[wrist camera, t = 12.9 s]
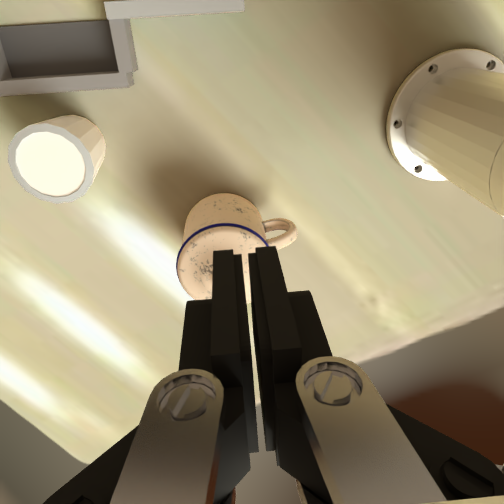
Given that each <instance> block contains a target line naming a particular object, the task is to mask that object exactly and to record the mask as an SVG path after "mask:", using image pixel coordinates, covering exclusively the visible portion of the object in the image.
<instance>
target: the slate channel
mask: <svg viewBox="0 0 504 504" xmlns="http://www.w3.org/2000/svg"><path fill="white" fill-rule="evenodd" d="M104 6H105V11H106V16H107V19H136V18H152V17H168V16H184V15H200V14H216V13H233V12H243V11H245V8H244V0H126V1H109V2H104Z"/></svg>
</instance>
